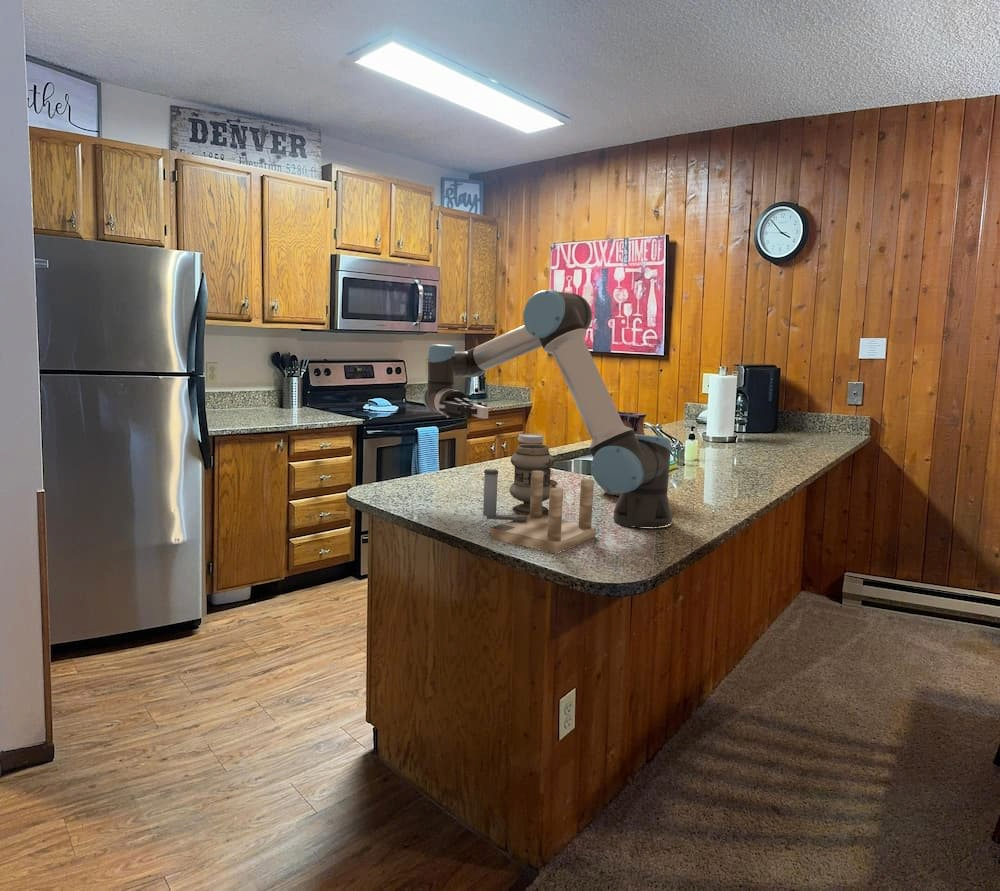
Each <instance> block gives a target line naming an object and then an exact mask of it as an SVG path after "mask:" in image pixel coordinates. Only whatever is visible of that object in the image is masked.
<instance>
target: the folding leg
mask: <svg viewBox="0 0 1000 891" xmlns="http://www.w3.org/2000/svg"><path fill="white" fill-rule="evenodd" d="M483 473H484V477H483V478H484V479H483V505H482V506H483V507H482V508H483V509H482V516H485V517H486V520H501V521H513V520H514V521H527V516H528V515H525V514H518V515H513V514H499V513H498V514H497V505H498V504H497V500H498V480H499V479H498V477H499V476H498V475H499V470H498V469H493V468H489V469H488V468H487V469H484V471H483Z"/></svg>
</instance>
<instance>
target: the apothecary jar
mask: <svg viewBox="0 0 1000 891" xmlns="http://www.w3.org/2000/svg"><path fill="white" fill-rule="evenodd" d="M510 463H511V465H513V466H514V475H513V476H514V480H513V483H512V484H511V485H510V486H509V490H508V491H509V494H510V495H511V496H512V497H513V498H514V499H516V500H517V501H519V502H523V503H520V504H517V505H514V506H513V507H512V511H514V512H515V513H517V514H518V515H526V516H528V515H530V497H531V475H532V471H535V470H538V471H543V472H544V478H543V498H542V503H543V502H544V501H547V500H549V493H550V488H553V487H552V485H551V484H550V483H549V470H550V469H551V467H553V466H554V464H555V458H554V456H553V455H552V454H551V453H550V451H549V446H548V445H546V444H542V445H541V444H521V445H519V444H518V445H517V446H516V451H515V452H514V453H513V454H512V455H511V457H510ZM548 513H549V508H548V507H546V506H544V505H542V515H546V514H548Z"/></svg>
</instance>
